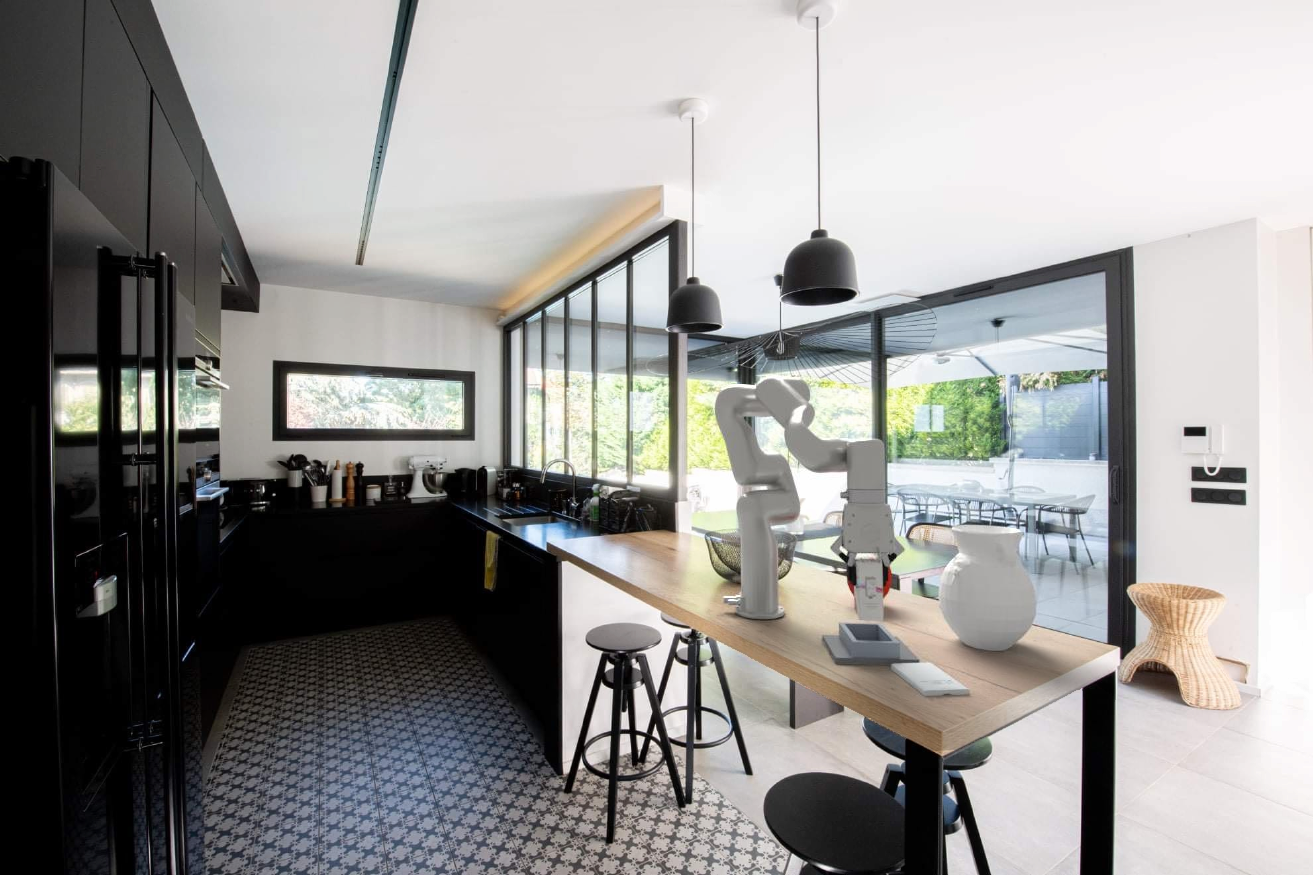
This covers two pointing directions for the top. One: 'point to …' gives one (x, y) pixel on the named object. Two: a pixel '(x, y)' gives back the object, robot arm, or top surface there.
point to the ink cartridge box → (869, 587)
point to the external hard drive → (929, 679)
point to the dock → (867, 645)
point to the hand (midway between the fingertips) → (867, 583)
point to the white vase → (987, 588)
